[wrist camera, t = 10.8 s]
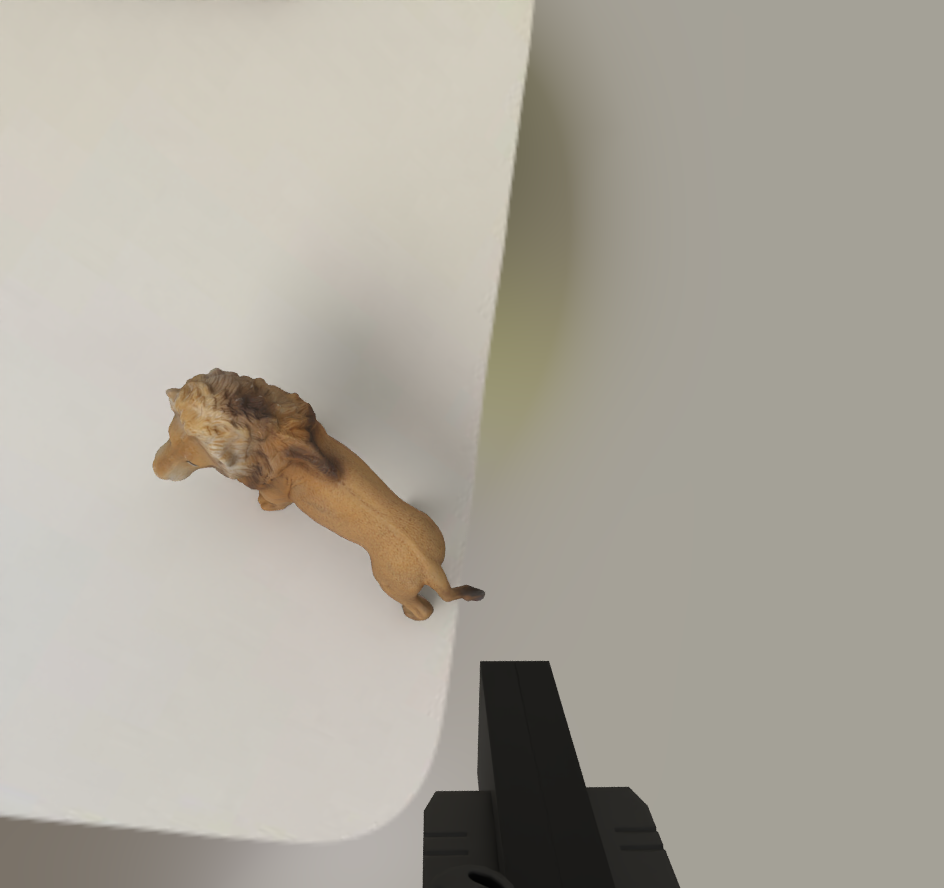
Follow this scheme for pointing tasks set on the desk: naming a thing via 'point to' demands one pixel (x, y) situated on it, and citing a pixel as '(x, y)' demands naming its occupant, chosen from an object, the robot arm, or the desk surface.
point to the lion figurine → (305, 478)
